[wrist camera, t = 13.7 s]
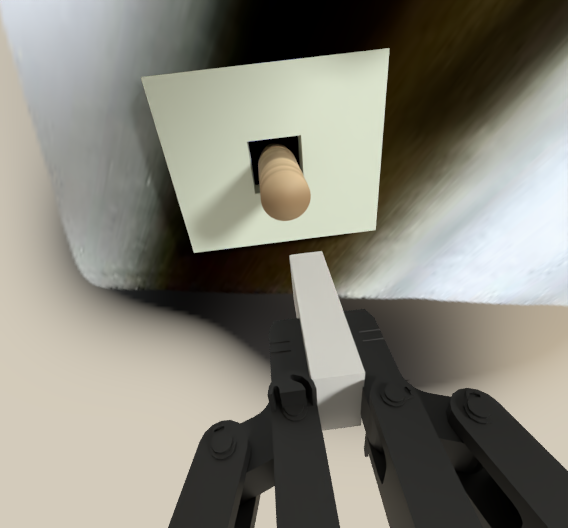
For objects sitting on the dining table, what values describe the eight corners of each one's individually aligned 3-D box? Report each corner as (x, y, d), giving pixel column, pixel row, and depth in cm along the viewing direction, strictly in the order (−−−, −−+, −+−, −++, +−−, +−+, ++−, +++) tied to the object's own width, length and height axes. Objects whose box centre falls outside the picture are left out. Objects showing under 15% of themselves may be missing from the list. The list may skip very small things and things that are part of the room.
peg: (255, 142, 33) (257, 176, 23) (291, 137, 33) (309, 169, 23) (260, 178, 35) (263, 223, 25) (294, 174, 35) (311, 217, 25)
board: (150, 76, 29) (140, 77, 26) (377, 49, 29) (389, 48, 27) (197, 240, 39) (194, 252, 36) (367, 219, 39) (375, 229, 37)
